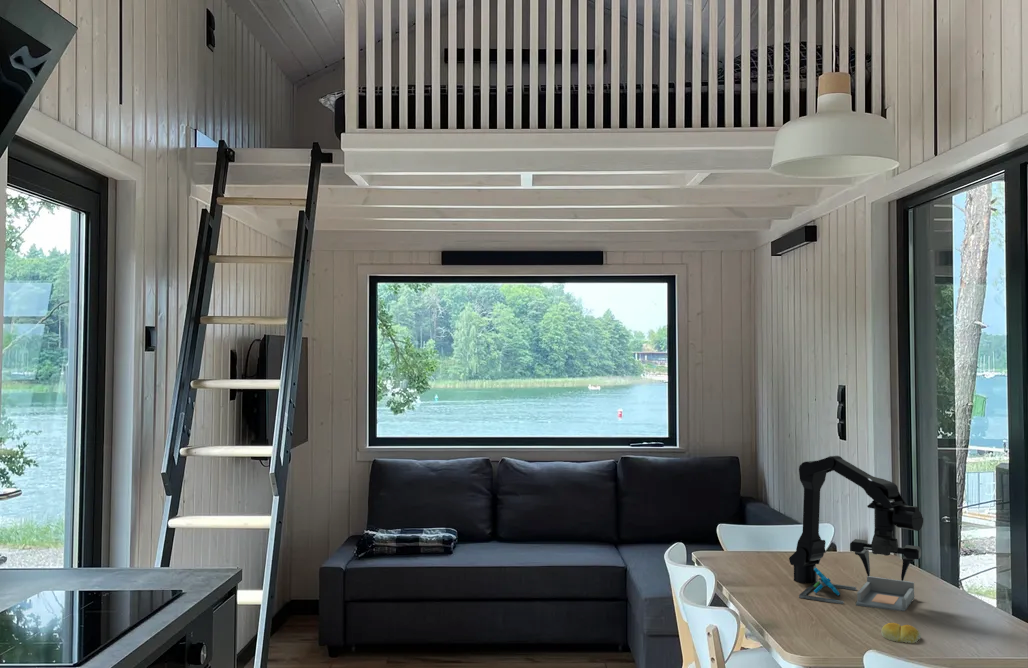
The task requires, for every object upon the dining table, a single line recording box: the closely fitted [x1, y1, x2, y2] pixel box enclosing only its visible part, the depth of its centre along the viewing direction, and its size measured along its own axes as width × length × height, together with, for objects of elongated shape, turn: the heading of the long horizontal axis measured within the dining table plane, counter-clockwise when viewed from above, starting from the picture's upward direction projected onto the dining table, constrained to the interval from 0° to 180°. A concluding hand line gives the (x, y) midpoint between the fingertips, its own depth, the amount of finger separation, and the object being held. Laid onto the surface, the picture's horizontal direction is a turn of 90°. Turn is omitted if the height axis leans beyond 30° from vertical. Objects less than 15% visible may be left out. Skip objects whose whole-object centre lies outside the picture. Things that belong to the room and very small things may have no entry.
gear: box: [813, 567, 841, 596], centre depth 256 cm, size 11×6×10 cm
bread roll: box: [881, 622, 922, 644], centre depth 212 cm, size 8×9×4 cm
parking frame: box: [798, 581, 857, 605], centre depth 255 cm, size 12×19×1 cm, turn 147°
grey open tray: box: [855, 575, 915, 612], centre depth 247 cm, size 13×18×5 cm
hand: (885, 578), depth 247 cm, fingers open, 9 cm apart
